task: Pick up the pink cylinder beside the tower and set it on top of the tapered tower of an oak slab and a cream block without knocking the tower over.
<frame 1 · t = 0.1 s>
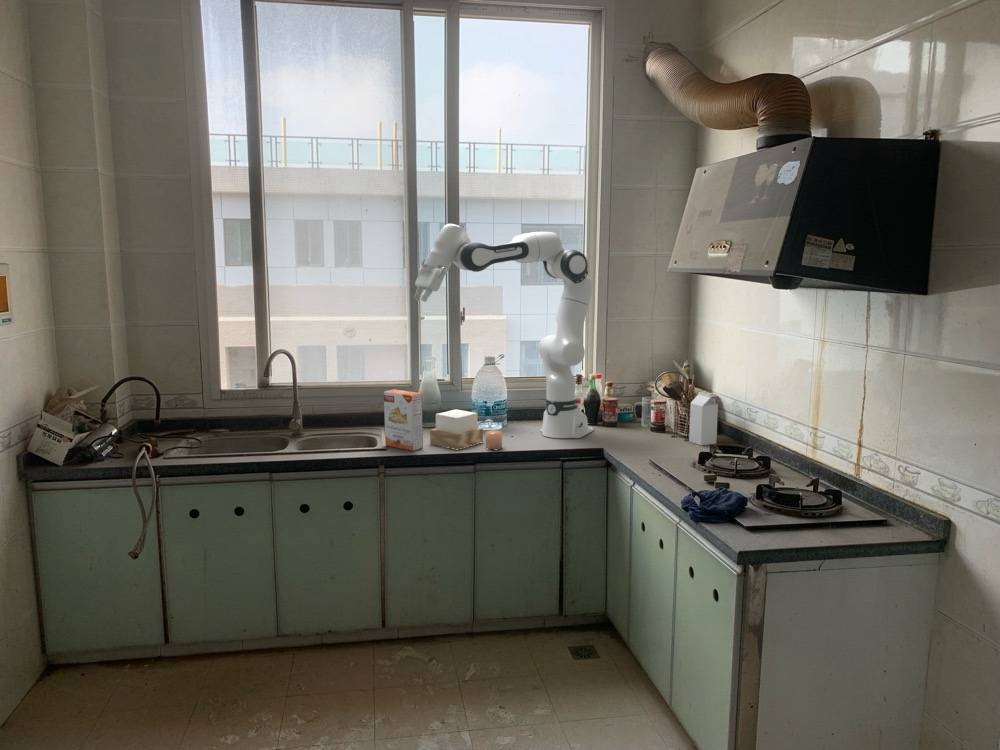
hand: (419, 300, 263), 54 cm above the worktop, tool tilted 30°, fingers open, 8 cm apart
tower top: (456, 429, 278), point 6 cm above the worktop, touching tower base
tower base: (456, 444, 279), on the worktop, touching tower top
pink cylinder: (493, 448, 272), on the worktop
milk carton: (702, 443, 278), on the worktop
cracker box: (403, 447, 273), on the worktop
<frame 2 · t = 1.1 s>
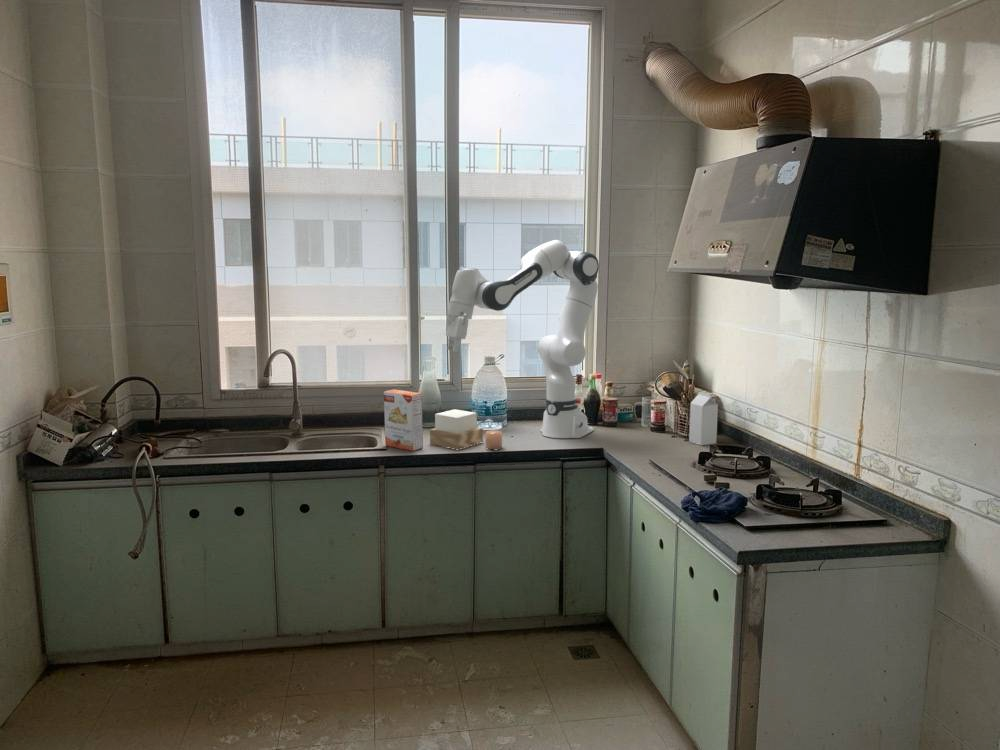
hand: (452, 350, 262), 37 cm above the worktop, tool pointing down, fingers open, 8 cm apart
nothing on the worktop moved.
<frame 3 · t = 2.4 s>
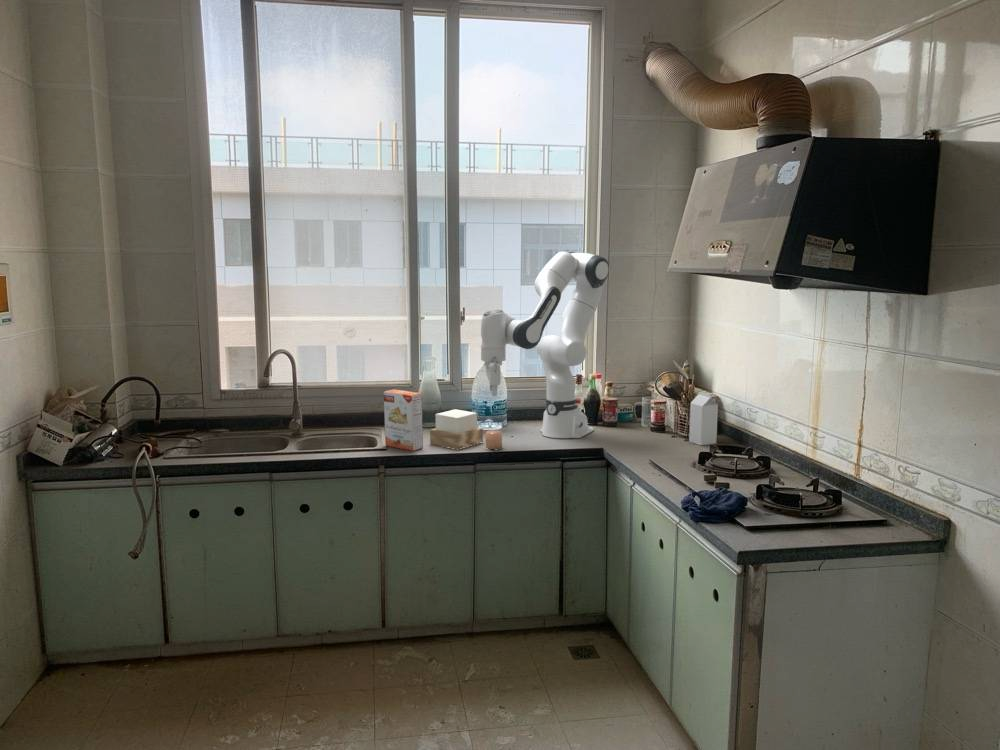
hand: (493, 393, 269), 20 cm above the worktop, tool pointing down, fingers open, 8 cm apart
tower top: (456, 429, 278), point 6 cm above the worktop
tower base: (456, 444, 279), on the worktop
everything else where it was.
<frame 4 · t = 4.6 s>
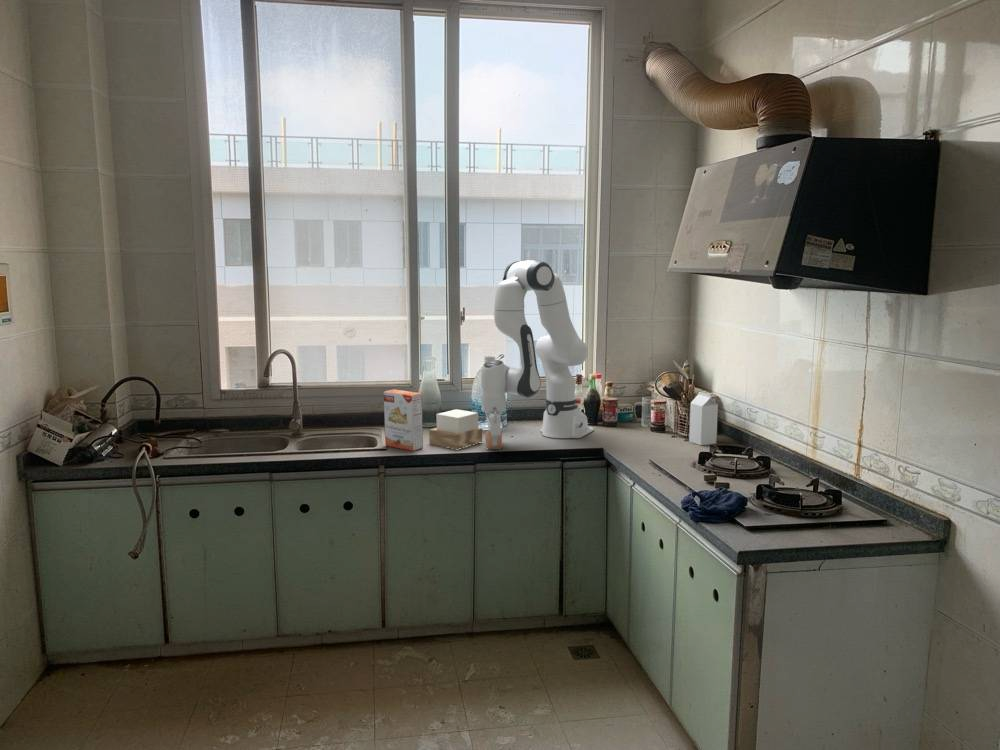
hand: (493, 442, 272), 2 cm above the worktop, tool pointing down, fingers closed on pink cylinder, 6 cm apart
pink cylinder: (494, 447, 272), on the worktop, touching gripper
everything else where it was.
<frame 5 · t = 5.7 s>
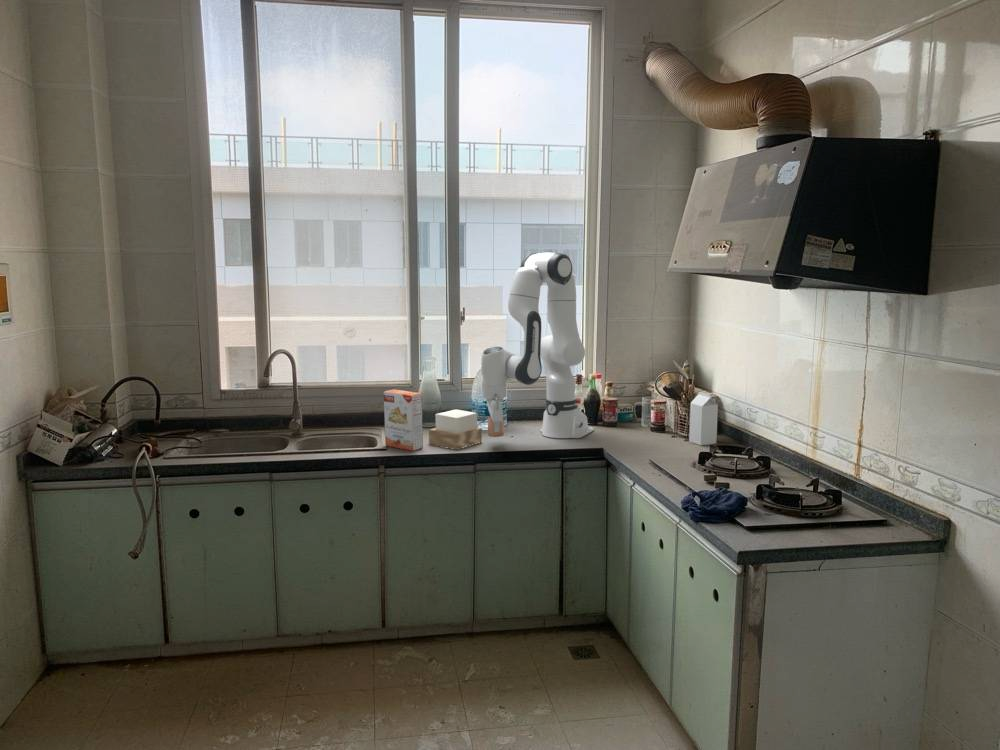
hand: (495, 429, 271), 7 cm above the worktop, tool pointing down, fingers closed on pink cylinder, 6 cm apart
tower top: (456, 429, 277), point 6 cm above the worktop, touching tower base
tower base: (455, 444, 279), on the worktop, touching tower top
pink cylinder: (496, 434, 271), point 5 cm above the worktop, touching gripper
everything else where it was.
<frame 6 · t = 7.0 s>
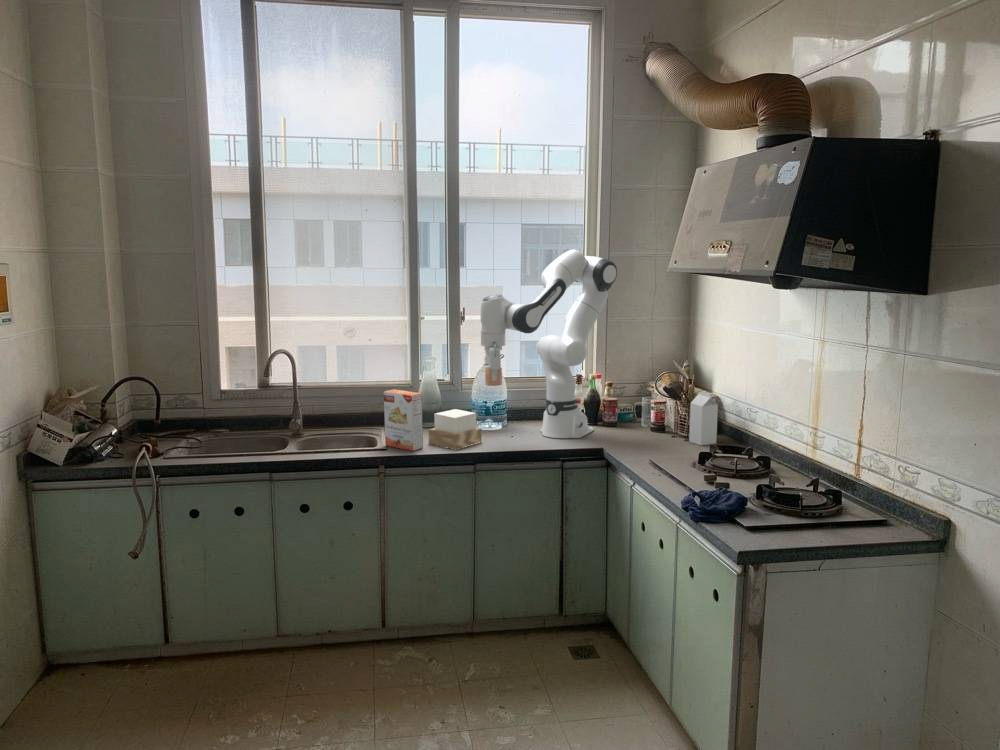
hand: (493, 378, 268), 26 cm above the worktop, tool pointing down, fingers closed on pink cylinder, 6 cm apart
pink cylinder: (493, 384, 268), point 24 cm above the worktop, touching gripper
everything else where it was.
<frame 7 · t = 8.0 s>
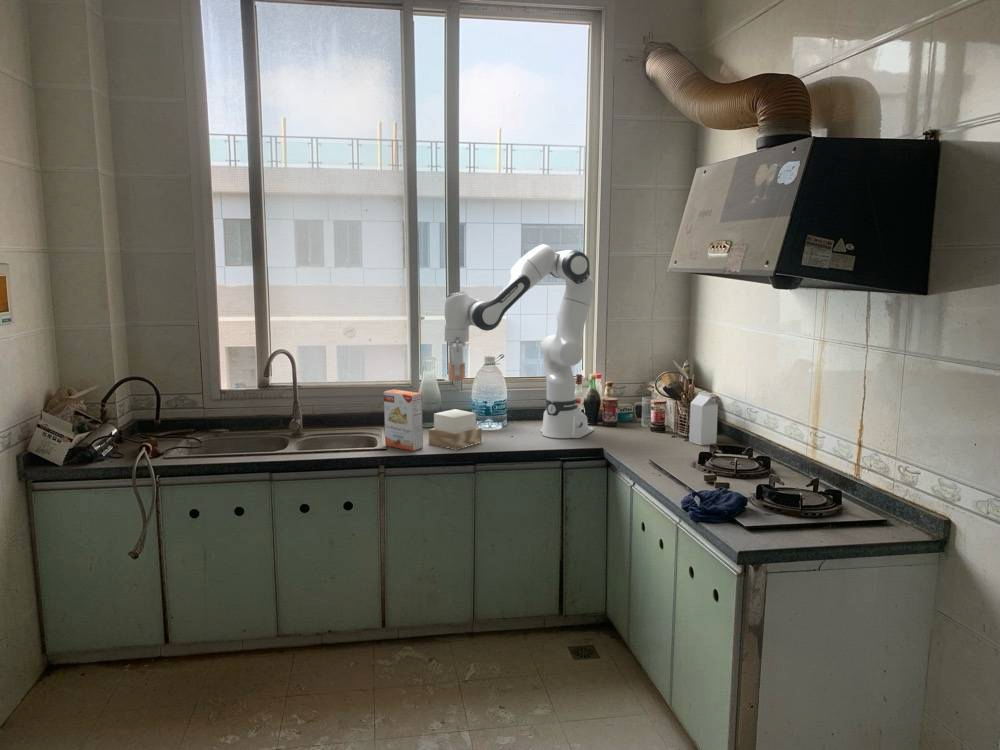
hand: (456, 373, 274), 27 cm above the worktop, tool pointing down, fingers closed on pink cylinder, 6 cm apart
pink cylinder: (456, 379, 274), point 25 cm above the worktop, touching gripper
everything else where it was.
when the fingers open (16 cm above the worktop, at t = 11.0 s): pink cylinder drops 2 cm, resting on tower top.
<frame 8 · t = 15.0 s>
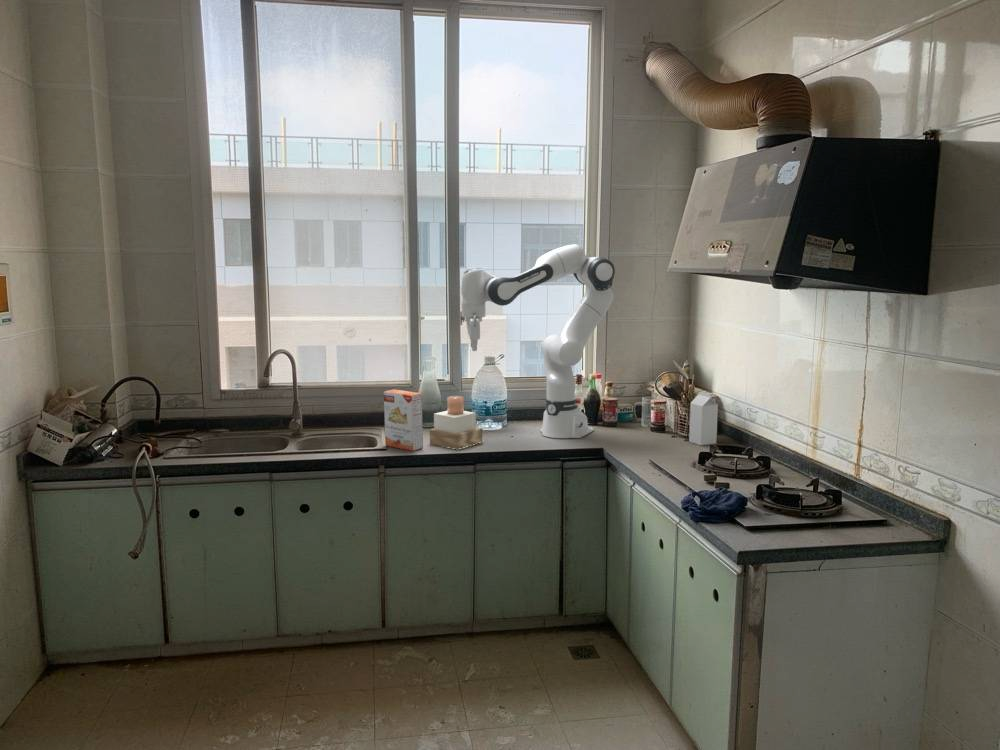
hand: (473, 349, 278), 35 cm above the worktop, tool pointing down, fingers open, 8 cm apart
tower top: (455, 428, 278), point 6 cm above the worktop, touching pink cylinder
tower base: (456, 444, 279), on the worktop
pink cylinder: (455, 413, 277), point 12 cm above the worktop, touching tower top
everything else where it was.
at the end: pink cylinder 0.3 cm off-centre on the tower top, point 6.0 cm above the tower top's base; tower top point 5.5 cm above the worktop; tower top tilted 0° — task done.
